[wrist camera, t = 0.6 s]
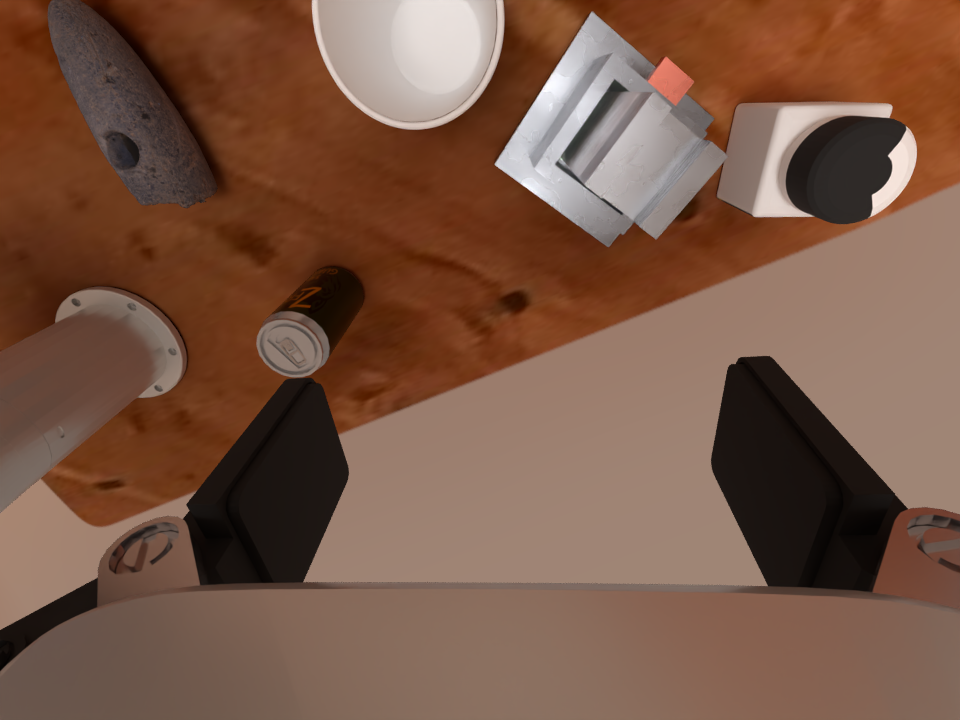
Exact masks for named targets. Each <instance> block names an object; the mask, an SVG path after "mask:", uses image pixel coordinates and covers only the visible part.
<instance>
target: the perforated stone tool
mask: <svg viewBox="0 0 960 720" xmlns="http://www.w3.org/2000/svg"><path fill="white" fill-rule="evenodd" d="M48 23H49V30H50V35H51V40H52V44H53V47H54V50H55V53H56V54H57V57H58V60H59V65H60V67H61V70H62V72H63V75H64V77H65V79H66V81H67V83H68V85H69V88H70V90H71V92H72V94H73V96H74V98H75V100H76V101H77V104H78V106H79V109H80V110H81V112H82V114H83V116H84V118H85V120H86V122H87V124H88V126H89V128H90V130H91V132H92V134H93V136H94V137H95V139H96V141H97V143H98V145H99V147H100V149H101V151H102V152H103V154H104V155H105V157H106V159H107V160H108V162H109V163H110V164H111V166H112V167H113V168H114V170H115V171H116V173H117V174H118V175H119V177H120V178H121V180H122V181H123V183H124V184H125V185H126V187H127V188H128V190H129V191H130V192H131V194H132V195H134V196H135V197H136V199H137V200H138V202H139V203H140V204H141V205H151V204H152V205H156V204H158V203H162V204H166V203H168V204H170V203H178V204H179V205H180V206H181V207H184V208H189V207H190V206H191V205H194V204H195V203H196V202H200V203H202V202H204V201H205V199H206V198H208V197H211V196H212V195H214V194H215V192H216V191H217V184H216V182H215V179H214V177H213V174H212V172H211V170H210V168H209V166H208V164H207V162H206V160H205V158H204V156H203V153H202V151H201V149H200V147H199V145H198V143H197V141H196V140H195V138H194V136H193V135H192V133H191V132H190V130H189V128H188V127H187V125H186V123H185V122H184V120H183V119H182V117H181V115H180V114H179V112H178V111H177V109H176V108H175V106H174V105H173V103H172V102H171V101H170V99H169V98H168V97H167V95H166V93H165V92H164V90H163V89H162V88H161V86H160V85H159V83H158V82H157V81H156V79H155V78H154V76H153V75H152V74H151V72H150V71H149V70H148V68H147V67H146V66H145V64H144V63H143V62H142V60H141V59H140V58H139V57H138V55H137V54H136V53H135V51H134V50H133V49H132V48H131V47H130V45H129V44H128V43H127V42H126V41H125V40H124V39H123V37H122V36H121V35H120V34H119V33H118V32H117V31H116V30H115V29H114V28H113V27H112V26H111V25H110V24H109V23H108V22H107V21H106V20H105V19H104V18H102V17H101V16H100V15H99V14H98V13H97V12H95V11H94V10H93V9H92V8H90V7H89V6H88V5H86V4H85V3H83V2H81V1H80V0H53V1H51V3H50V4H49V7H48ZM205 202H206V201H205Z"/></svg>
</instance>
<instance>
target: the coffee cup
mask: <svg viewBox="0 0 960 720" xmlns="http://www.w3.org/2000/svg"><path fill="white" fill-rule="evenodd" d="M312 15H313V24H314V30H315V35H316V39H317V43H318V46H319V49H320V52H321V55H322V57H323V60H324V62H325V64H326V67H327V69H328V70H329V72H330V74H331V76H332V78H333V79H334V81H335V82H336V84H337V85H338V87H339V88H340V89H341V91H342V92H343V93H344V94H345V95H346V97H347V98H348V99H349V100H350V101H351V102H352V103H353V104H354V105H355V106H357V107H358V108H359V109H360V110H361V111H363V112H364V113H366V114H367V115H369V116H370V117H372V118H374V119H375V120H377V121H379V122H382V123H384V124H387V125H389V126H393V127H396V128H401V129H409V130H421V129H429V128H433V127H437V126H440V125H443V124H445V123H448V122H450V121H452V120H453V119H455V118H457V117H458V116H460V115H461V114H463V113H464V112H465V111H466V110H468V109H469V108H470V107H471V106H472V105H473V104H474V103H475V102H476V100H477V99H478V98H479V97H480V96H481V94H482V93H483V91H484V90H485V88H486V87H487V85H488V83H489V82H490V80H491V78H492V76H493V73H494V71H495V69H496V66H497V63H498V60H499V57H500V53H501V49H502V43H503V37H504V21H505V17H504V2H503V0H312ZM345 84H346V85H345ZM476 88H477V89H476ZM360 100H361V101H362V102H361V101H360ZM461 104H462V105H461ZM460 105H461V106H460ZM372 109H373V110H372ZM377 112H378V113H377ZM386 116H387V117H386ZM439 117H440V118H439ZM391 118H392V119H391ZM399 120H400V121H399ZM429 120H430V121H429ZM404 121H407V122H404ZM420 121H423V122H420Z"/></svg>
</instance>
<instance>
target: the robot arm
mask: <svg viewBox="0 0 960 720" xmlns="http://www.w3.org/2000/svg"><path fill="white" fill-rule="evenodd" d="M186 365H187V355H186V349H185V346H184V343H183V340H182V338H181V337H180V335H179V333H178V331H177V329H176V328H175V327H174V325H173V324H172V323H171V321H170V320H169V319H168V318H167V317H166V316H165V315H164V314H163V313H162V312H161V311H160V310H158V309H157V308H156V307H154V306H153V305H152V304H151V303H149V302H148V301H146V300H144V299H142V298H141V297H139V296H137V295H135V294H132V293H130V292H127V291H125V290H121V289H117V288H113V287H102V286H98V287H90V288H86V289H83V290H80V291H78V292H76V293H74V294H72V295H70V296H68V297H67V298H66V299H65V300H64V301H63V302H62V303H61V305H60V306H59V308H58V310H57V313H56V318H55V324H53V325H51V326H49V327H47V328H45V329H43V330H41V331H39V332H37V333H35V334H33V335H31V336H29V337H28V338H26V339H24V340H22V341H20V342H18V343H16V344H14V345H12V346H10V347H8V348H6V349H4V350H2V351H0V513H1V512H2V511H3V510H4V509H5V508H7V506H9V505H10V504H11V503H12V502H13V501H15V500H16V499H17V498H18V497H19V496H20V495H21V494H22V493H24V492H25V491H26V490H27V489H28V488H30V487H31V486H32V485H33V484H34V483H36V482H37V481H38V480H39V479H40V478H42V477H43V476H44V475H45V474H46V473H47V472H48V471H50V470H51V469H52V468H53V467H54V466H56V465H57V464H58V463H59V462H60V461H62V460H63V459H64V458H65V457H66V456H68V455H69V454H70V453H71V452H72V451H74V450H75V449H76V448H77V447H78V446H80V445H81V444H82V443H83V442H84V441H85V440H87V439H88V438H89V437H90V436H91V435H93V434H94V433H95V432H96V431H97V430H99V429H100V428H101V427H102V426H103V425H105V424H106V423H107V422H108V421H109V420H111V419H112V418H113V417H114V416H115V415H117V414H118V413H119V412H120V411H121V410H123V409H124V408H125V407H126V406H127V405H129V404H130V403H131V402H132V401H133V400H134V399H136V398H137V397H138V398H148V397H155V396H159V395H162V394H164V393H166V392H168V391H169V390H171V389H172V388H173V387H174V386H175V385H177V384H178V382H179V381H180V380H181V379H182V377H183V375H184V373H185V370H186ZM711 465H712V470H713V473H714V475H715V478H716V480H717V482H718V484H719V486H720V488H721V490H722V492H723V494H724V496H725V498H726V500H727V502H728V505H729V506H730V509H731V511H732V513H733V515H734V517H735V519H736V521H737V523H738V525H739V527H740V529H741V531H742V533H743V535H744V537H745V540H746V541H747V544H748V546H749V548H750V550H751V552H752V554H753V556H754V558H755V560H756V562H757V564H758V566H759V568H760V570H761V572H762V574H763V576H764V578H765V581H766V583H767V585H768V586H734V585H733V586H732V585H675V584H671V585H670V584H589V583H588V584H587V583H438V582H437V583H436V582H435V583H432V582H431V583H430V582H429V583H428V582H427V583H426V582H379V583H378V582H373V583H372V582H367V583H366V582H343V583H342V582H309V583H308V582H306V583H305V582H303V581H304V579H305V576H306V574H307V572H308V570H309V567H310V565H311V563H312V561H313V558H314V556H315V554H316V552H317V549H318V547H319V545H320V542H321V540H322V538H323V536H324V533H325V531H326V529H327V526H328V524H329V522H330V520H331V517H332V515H333V512H334V510H335V508H336V506H337V504H338V501H339V499H340V497H341V494H342V492H343V490H344V488H345V485H346V483H347V480H348V475H349V470H348V465H347V461H346V458H345V455H344V452H343V449H342V446H341V443H340V440H339V436H338V433H337V430H336V427H335V424H334V421H333V418H332V415H331V411H330V408H329V405H328V402H327V399H326V396H325V393H324V390H323V387H322V386H321V384H319V383H315V381H314V380H313V379H312V378H296V379H287V380H285V381H284V382H283V384H282V385H281V386H280V387H279V389H278V390H277V391H276V392H275V394H274V395H273V396H272V397H271V399H270V400H269V401H268V402H267V404H266V405H265V406H264V407H263V409H262V410H261V411H260V413H259V414H258V415H257V416H256V418H255V419H254V420H253V421H252V423H251V424H250V425H249V426H248V428H247V429H246V430H245V431H244V433H243V434H242V435H241V436H240V438H239V439H238V440H237V441H236V443H235V444H234V445H233V446H232V448H231V449H230V450H229V451H228V453H227V454H226V455H225V456H224V458H223V459H222V460H221V462H220V463H219V464H218V465H217V467H216V468H215V469H214V470H213V472H212V473H211V474H210V475H209V477H208V478H207V479H206V480H205V482H204V483H203V484H202V485H201V487H200V488H199V489H198V490H197V492H196V493H195V494H194V496H193V497H192V498H191V499H190V500H189V502H188V503H187V507H188V509H189V510H190V511H189V512H188V513H187V514H186V516H185V517H184V518H183V519H181V518H179V517H175V516H165V517H159V518H155V519H152V520H150V521H147V522H144V523H142V524H140V525H138V526H136V527H134V528H132V529H131V530H129V531H128V532H126V533H125V534H124V535H122V536H121V537H119V538H118V539H117V540H116V541H115V542H114V543H113V544H112V545H111V546H110V547H109V548H108V549H107V550H106V552H105V554H104V555H103V557H102V558H101V560H100V563H99V567H98V578H97V579H95V580H93V581H91V582H89V583H87V584H85V585H84V586H81V587H80V588H78V589H76V590H74V591H72V592H70V593H68V594H67V595H65V596H63V597H61V598H59V599H57V600H55V601H54V602H52V603H50V604H48V605H46V606H44V607H42V608H41V609H39V610H37V611H35V612H33V613H31V614H29V615H28V616H26V617H24V618H22V619H20V620H18V621H16V622H14V623H13V624H11V625H9V626H7V627H5V628H3V629H1V630H0V720H960V514H957V513H953V512H949V511H946V510H942V509H935V508H928V507H922V508H910V509H907V507H906V506H905V505H904V504H903V503H902V502H901V501H900V500H899V499H898V497H897V496H896V495H895V493H894V492H893V491H892V490H891V489H890V488H889V487H888V486H887V485H886V483H885V482H884V481H883V480H882V479H881V478H880V477H879V476H878V475H877V474H876V472H875V471H874V470H873V469H872V468H871V467H870V466H869V465H868V464H867V462H866V461H865V460H864V459H863V458H862V457H861V456H860V455H859V454H858V452H857V451H856V450H855V449H854V448H853V447H852V446H851V445H850V444H849V443H848V441H847V440H846V439H845V438H844V437H843V436H842V435H841V434H840V433H839V431H838V430H837V429H836V428H835V427H834V426H833V425H832V424H831V423H830V422H829V420H828V419H827V418H826V417H825V416H824V415H823V414H822V413H821V411H820V410H819V409H818V408H817V407H816V406H815V405H814V404H813V403H812V401H811V400H810V399H809V398H808V397H807V396H806V395H805V394H804V393H803V391H802V390H801V389H800V388H799V387H798V386H797V385H796V384H795V383H794V381H793V380H791V378H790V377H789V376H788V375H787V374H786V373H785V372H784V370H783V369H782V368H781V367H780V366H779V365H778V364H777V363H776V362H775V360H774V359H773V358H771V357H770V356H757V357H741V358H739V359H738V361H737V362H736V364H731V365H730V366H729V367H728V370H727V375H726V381H725V386H724V392H723V397H722V403H721V408H720V413H719V419H718V424H717V430H716V435H715V441H714V446H713V452H712V458H711Z"/></svg>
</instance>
